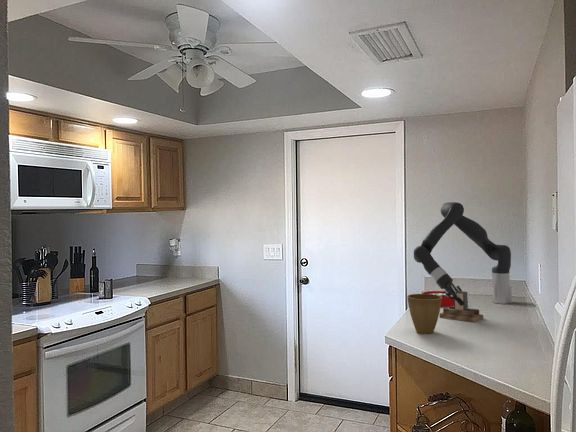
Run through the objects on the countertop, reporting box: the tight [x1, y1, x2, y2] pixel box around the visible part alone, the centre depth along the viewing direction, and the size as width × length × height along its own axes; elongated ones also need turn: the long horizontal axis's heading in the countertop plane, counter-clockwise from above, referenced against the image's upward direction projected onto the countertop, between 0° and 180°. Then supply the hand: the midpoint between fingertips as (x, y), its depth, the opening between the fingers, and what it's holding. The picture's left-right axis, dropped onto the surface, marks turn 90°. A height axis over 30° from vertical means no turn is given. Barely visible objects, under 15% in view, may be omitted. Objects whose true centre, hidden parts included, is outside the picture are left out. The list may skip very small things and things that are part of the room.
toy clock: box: [421, 290, 454, 308], centre depth 275 cm, size 20×6×20 cm
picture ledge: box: [439, 306, 484, 323], centre depth 236 cm, size 18×10×4 cm, turn 44°
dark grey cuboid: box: [454, 290, 469, 311], centre depth 236 cm, size 6×4×10 cm, turn 44°
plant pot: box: [407, 293, 442, 335], centre depth 212 cm, size 15×15×16 cm
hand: (464, 303), depth 235 cm, fingers closed on dark grey cuboid, 3 cm apart
